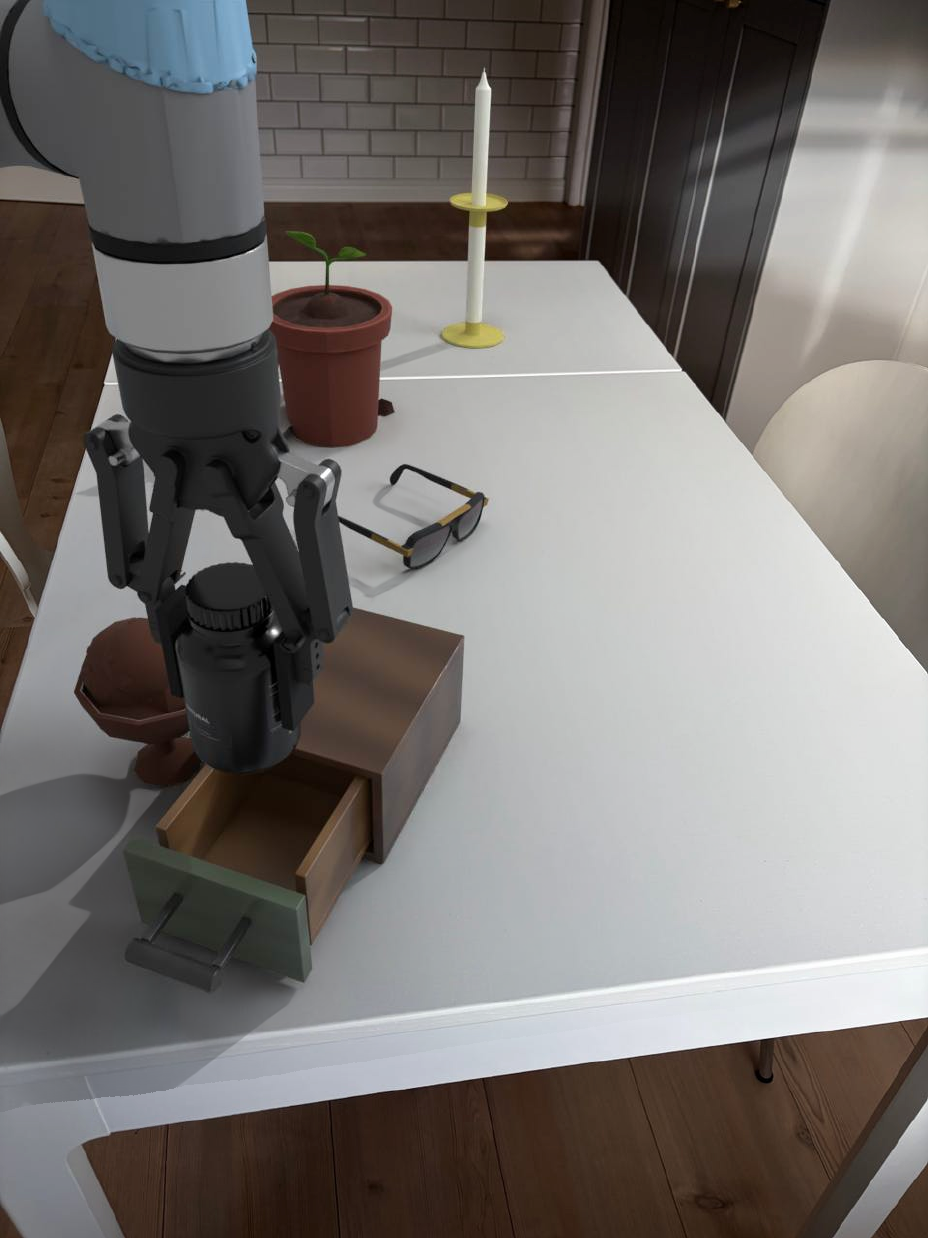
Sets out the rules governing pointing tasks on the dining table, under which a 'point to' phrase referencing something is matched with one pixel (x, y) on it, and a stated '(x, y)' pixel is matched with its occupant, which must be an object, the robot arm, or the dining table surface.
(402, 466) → the sunglasses
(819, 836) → the dining table surface
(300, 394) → the potted plant
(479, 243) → the candle
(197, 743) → the supplement bottle
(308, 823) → the drawer
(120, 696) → the ice cream bowl
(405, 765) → the cabinet
